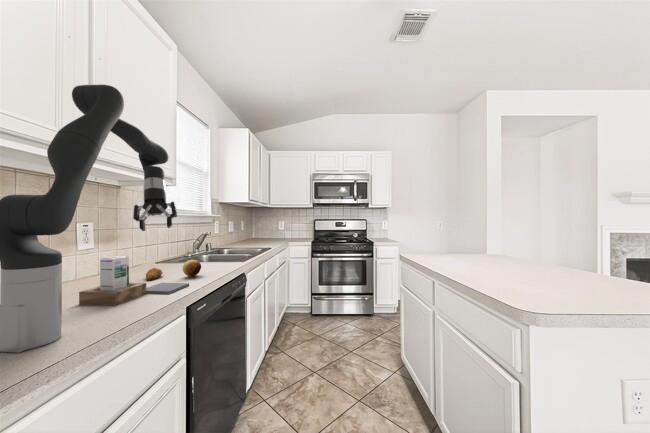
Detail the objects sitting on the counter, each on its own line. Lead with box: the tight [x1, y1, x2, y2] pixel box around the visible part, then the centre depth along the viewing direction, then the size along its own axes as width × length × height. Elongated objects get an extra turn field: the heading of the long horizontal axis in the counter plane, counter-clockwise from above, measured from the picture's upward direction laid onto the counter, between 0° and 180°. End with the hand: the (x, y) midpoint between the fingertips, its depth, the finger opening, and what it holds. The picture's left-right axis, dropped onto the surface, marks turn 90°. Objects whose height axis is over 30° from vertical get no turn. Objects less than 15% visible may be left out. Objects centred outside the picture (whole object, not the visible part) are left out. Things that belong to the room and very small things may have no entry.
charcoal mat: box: [146, 282, 190, 295], centre depth 103 cm, size 12×12×1 cm
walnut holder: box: [78, 282, 147, 306], centre depth 91 cm, size 13×13×4 cm
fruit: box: [182, 259, 202, 278], centre depth 125 cm, size 8×8×8 cm
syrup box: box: [99, 255, 130, 291], centre depth 91 cm, size 6×6×14 cm
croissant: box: [145, 267, 163, 282], centre depth 123 cm, size 14×7×5 cm, turn 18°
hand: (156, 228), depth 101 cm, fingers open, 8 cm apart
